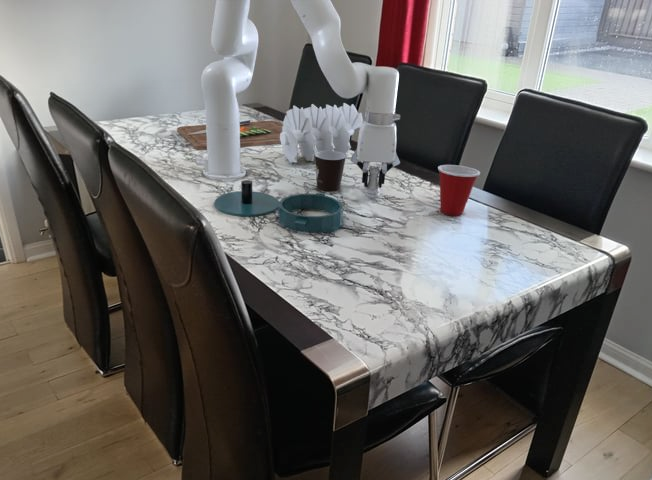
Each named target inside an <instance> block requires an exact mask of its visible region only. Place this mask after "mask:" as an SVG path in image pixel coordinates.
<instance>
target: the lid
mask: <svg viewBox="0 0 652 480" xmlns="http://www.w3.org/2000/svg"><path fill="white" fill-rule="evenodd" d="M240 187H241V188H240V190H239V191H232V192H227V193H224V194H221V195H220V196H218V197H216V199H214V208H216V210H218V211H219V212H221V213H223V214H226V215H229V216H235V217H246V218H249V217H250V218H251V217H262V216H265V215H269V214H272V213H274V212H275V211H277V210H278V209H279V202H280V201H279V200H278V198H276V197H275V196H274V195H272V194H268V193H265V192H260V191H253V181H252V180H250V179H243V180H242V181H241V182H240Z"/></svg>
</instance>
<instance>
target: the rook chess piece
mask: <svg viewBox="0 0 652 480" xmlns="http://www.w3.org/2000/svg"><path fill="white" fill-rule="evenodd" d="M380 170H381V169H380V167H379V166H376V165H371V166H369V169H368V183H367V187H364V192H363V195H364V196H365V197H366V198H370V199H377V198H378V197H379V196H380V195H381V193H380V192H381V190H380V189H381V188H379V186H378V179H379V172H380Z"/></svg>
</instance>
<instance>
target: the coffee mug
mask: <svg viewBox="0 0 652 480" xmlns="http://www.w3.org/2000/svg"><path fill="white" fill-rule="evenodd" d="M316 152H317V153H315V155H314V163H315V165H314V166H315V177H316V189H317V190H319V191H320V192H326V193H334V192H338V191H340V189H341V184H342V178H343V174H344V169H345V164H346V159H347V157H346V155H345V154H343V153H341V152H336V151H334V150H333V151H320V152H318V151H316Z"/></svg>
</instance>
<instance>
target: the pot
mask: <svg viewBox="0 0 652 480" xmlns="http://www.w3.org/2000/svg"><path fill="white" fill-rule="evenodd" d="M277 210H278V213H277V214H278V215H277V216H278V217H277V218H278V222H279V224H280V225H282V226H283V227H284V228H286V229H290V230H292V231H295V232H300V233H301V232H302V233H308V234H312V233H313V234H315V233H316V234H318V233H324V234H330V233H333V232H336V231H337V230H339V229H340V228H341V226H342V223H343V217H344V205H343V203H342V202H341V201H340V200H338V199H336V198H335V197H331V196H328V195H326V194H325V193H319V192H316V193H298V194H291V195H287V196H285V197H283V198H281V200H280V201H279V207H278V209H277ZM299 210H315V211H322V212H325V213H328V214H324V215H306V214H305V215H304V214H299V213H295V212H294V211H299Z"/></svg>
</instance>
